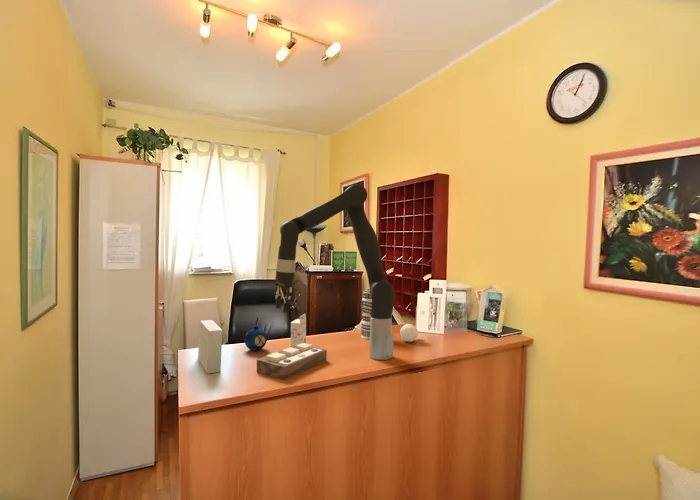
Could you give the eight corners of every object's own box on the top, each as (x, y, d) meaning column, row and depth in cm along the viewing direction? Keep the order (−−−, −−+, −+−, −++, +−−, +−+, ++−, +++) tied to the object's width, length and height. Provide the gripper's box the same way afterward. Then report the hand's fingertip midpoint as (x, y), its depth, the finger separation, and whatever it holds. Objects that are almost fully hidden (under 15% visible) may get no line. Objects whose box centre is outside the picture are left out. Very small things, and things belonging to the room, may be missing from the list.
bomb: (249, 355, 148) (250, 320, 148) (241, 349, 157) (241, 316, 156) (271, 351, 154) (271, 318, 153) (262, 345, 162) (262, 314, 162)
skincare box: (222, 371, 129) (222, 329, 129) (206, 374, 126) (207, 331, 126) (211, 356, 147) (212, 318, 146) (197, 358, 144) (198, 320, 143)
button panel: (326, 360, 143) (326, 349, 143) (283, 379, 122) (284, 367, 122) (300, 354, 151) (301, 344, 150) (256, 371, 130) (256, 359, 130)
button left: (285, 362, 131) (285, 354, 131) (275, 366, 127) (276, 358, 127) (276, 359, 134) (276, 352, 134) (266, 363, 130) (266, 355, 130)
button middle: (299, 356, 138) (299, 349, 138) (290, 360, 134) (291, 352, 133) (290, 354, 140) (290, 347, 140) (281, 357, 136) (281, 350, 136)
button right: (312, 351, 144) (312, 344, 144) (304, 355, 140) (304, 347, 140) (303, 349, 147) (303, 342, 147) (295, 352, 143) (295, 345, 143)
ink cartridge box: (296, 342, 169) (296, 312, 168) (306, 343, 168) (306, 313, 167) (290, 347, 160) (290, 316, 160) (300, 348, 159) (300, 316, 159)
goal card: (322, 350, 141) (322, 349, 141) (286, 365, 124) (286, 363, 124) (314, 348, 144) (314, 347, 144) (277, 362, 126) (277, 361, 126)
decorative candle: (356, 336, 181) (357, 289, 181) (370, 333, 187) (370, 287, 187) (368, 340, 174) (368, 291, 174) (381, 337, 180) (382, 289, 179)
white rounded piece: (414, 341, 166) (425, 339, 175) (410, 322, 169) (421, 321, 178) (398, 344, 171) (410, 342, 180) (395, 325, 174) (406, 324, 183)
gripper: (301, 273, 135) (297, 313, 136) (287, 269, 147) (283, 306, 148) (283, 272, 131) (279, 314, 132) (270, 268, 143) (267, 306, 144)
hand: (281, 310), depth 140 cm, fingers open, 8 cm apart
